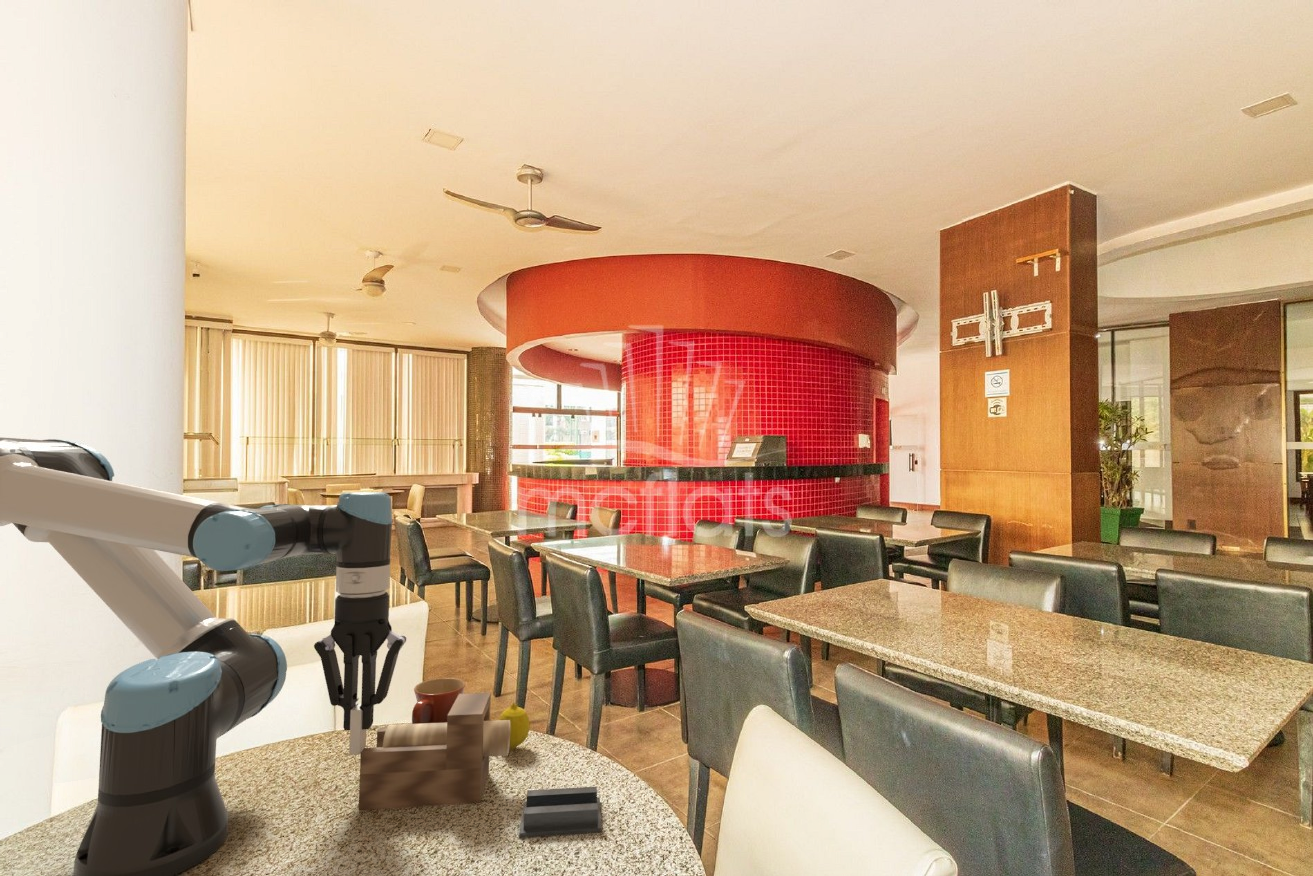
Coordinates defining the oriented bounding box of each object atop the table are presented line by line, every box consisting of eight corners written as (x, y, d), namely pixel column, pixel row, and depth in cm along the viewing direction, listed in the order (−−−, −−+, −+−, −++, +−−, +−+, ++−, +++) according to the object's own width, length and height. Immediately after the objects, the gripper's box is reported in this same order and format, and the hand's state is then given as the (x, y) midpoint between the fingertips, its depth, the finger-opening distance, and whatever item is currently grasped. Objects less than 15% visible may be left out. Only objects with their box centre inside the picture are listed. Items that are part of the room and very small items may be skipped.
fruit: (519, 758, 104) (520, 710, 105) (490, 754, 106) (491, 706, 106) (534, 745, 110) (535, 699, 110) (507, 740, 111) (508, 695, 112)
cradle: (518, 838, 82) (519, 817, 82) (524, 806, 89) (524, 787, 90) (601, 832, 83) (601, 812, 83) (599, 801, 91) (599, 783, 91)
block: (358, 810, 88) (361, 719, 89) (378, 779, 97) (381, 696, 98) (480, 803, 90) (482, 714, 91) (488, 773, 99) (490, 692, 100)
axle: (382, 768, 91) (382, 735, 90) (392, 750, 96) (392, 718, 95) (506, 762, 93) (507, 730, 93) (510, 744, 98) (510, 713, 98)
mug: (430, 732, 115) (431, 676, 115) (472, 736, 113) (474, 679, 114) (390, 761, 103) (392, 699, 104) (437, 766, 101) (439, 703, 102)
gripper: (307, 598, 89) (300, 765, 88) (400, 596, 91) (395, 760, 90) (327, 589, 97) (322, 742, 95) (413, 587, 99) (409, 738, 97)
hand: (357, 750), depth 93 cm, fingers closed
